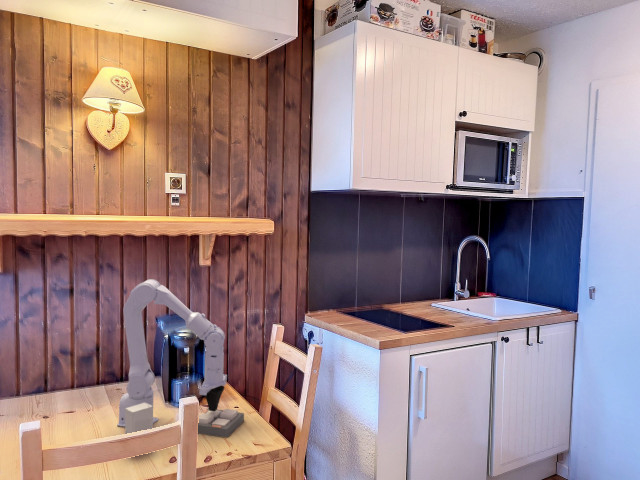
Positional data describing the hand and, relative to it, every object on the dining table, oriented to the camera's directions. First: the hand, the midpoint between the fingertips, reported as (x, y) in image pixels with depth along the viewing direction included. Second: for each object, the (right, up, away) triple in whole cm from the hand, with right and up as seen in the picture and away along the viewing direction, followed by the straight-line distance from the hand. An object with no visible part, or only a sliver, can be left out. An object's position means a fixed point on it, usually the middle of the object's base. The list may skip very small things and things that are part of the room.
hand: (213, 410), depth 148 cm
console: (+2, -4, -3) cm, 5 cm away
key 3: (+4, -3, -7) cm, 8 cm away
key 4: (+5, -2, -1) cm, 6 cm away
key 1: (-1, -2, -5) cm, 6 cm away
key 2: (0, -3, 0) cm, 3 cm away
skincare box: (-16, -4, -20) cm, 26 cm away
